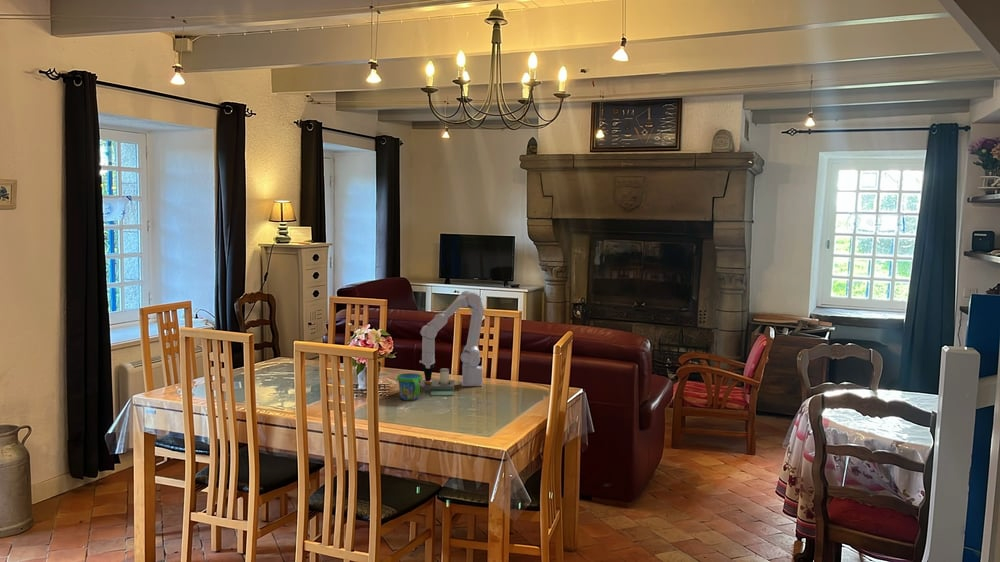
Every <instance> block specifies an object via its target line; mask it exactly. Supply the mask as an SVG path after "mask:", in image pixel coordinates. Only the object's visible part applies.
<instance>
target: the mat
mask: <svg viewBox="0 0 1000 562" xmlns="http://www.w3.org/2000/svg"><path fill="white" fill-rule="evenodd" d="M430 396H431V397H453V396H454V392H453V391H431V392H430Z"/></svg>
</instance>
